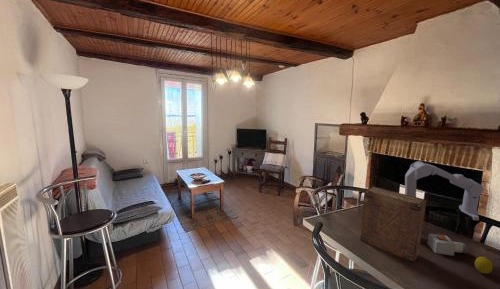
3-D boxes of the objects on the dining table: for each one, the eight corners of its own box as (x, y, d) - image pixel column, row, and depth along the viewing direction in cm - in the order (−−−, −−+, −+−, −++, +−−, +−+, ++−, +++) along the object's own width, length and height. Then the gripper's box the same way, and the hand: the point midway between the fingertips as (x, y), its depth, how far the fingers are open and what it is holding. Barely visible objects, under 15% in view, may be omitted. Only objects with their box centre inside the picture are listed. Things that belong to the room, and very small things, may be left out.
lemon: (469, 269, 102) (472, 253, 101) (480, 268, 103) (483, 252, 102) (483, 278, 97) (486, 261, 96) (494, 277, 97) (498, 261, 96)
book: (359, 240, 125) (364, 189, 120) (366, 234, 131) (371, 185, 126) (413, 263, 106) (421, 204, 101) (418, 255, 112) (426, 199, 107)
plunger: (439, 239, 114) (440, 237, 114) (436, 236, 117) (437, 234, 117) (446, 240, 114) (447, 238, 113) (443, 237, 117) (443, 234, 116)
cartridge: (436, 251, 115) (437, 242, 114) (431, 245, 120) (432, 237, 119) (466, 255, 111) (468, 246, 111) (460, 249, 116) (461, 240, 115)
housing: (435, 253, 114) (436, 241, 113) (427, 243, 121) (428, 233, 120) (453, 255, 112) (455, 244, 111) (444, 246, 119) (446, 235, 118)
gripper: (488, 210, 110) (483, 235, 112) (472, 199, 124) (468, 221, 126) (470, 207, 113) (466, 232, 115) (456, 197, 126) (452, 219, 128)
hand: (465, 226), depth 120 cm, fingers open, 7 cm apart
